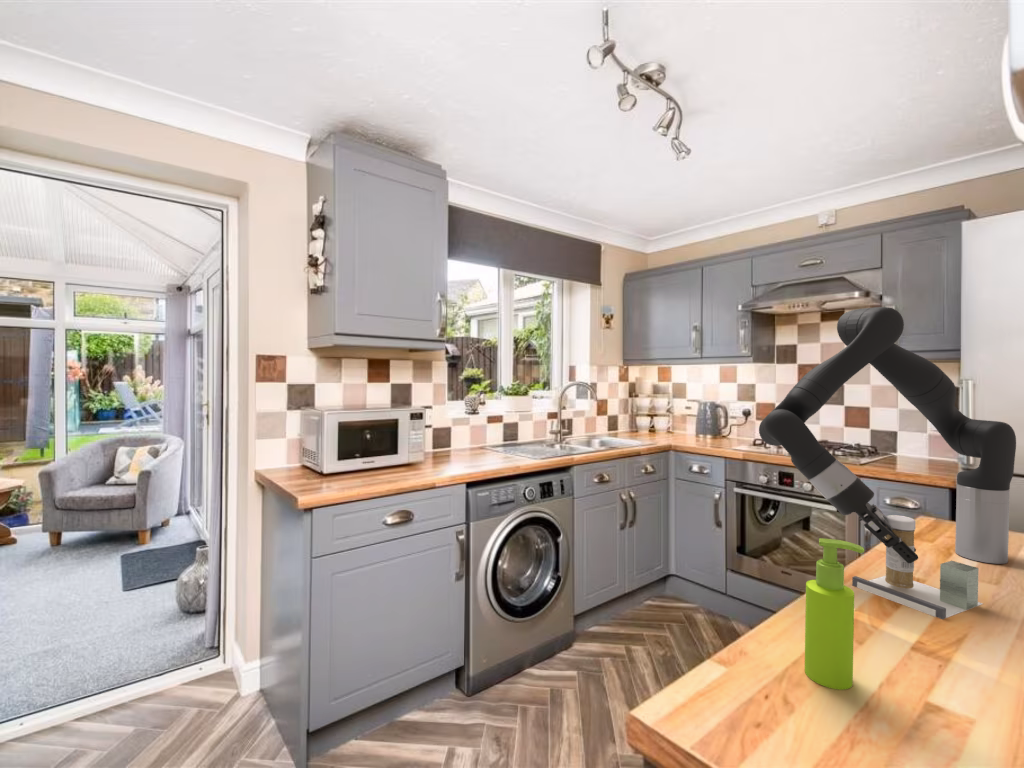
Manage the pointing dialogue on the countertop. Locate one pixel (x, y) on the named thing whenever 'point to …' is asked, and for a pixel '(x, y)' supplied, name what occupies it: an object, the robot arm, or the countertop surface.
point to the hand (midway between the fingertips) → (912, 556)
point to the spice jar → (896, 566)
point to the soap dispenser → (830, 620)
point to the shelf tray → (910, 596)
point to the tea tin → (959, 584)
